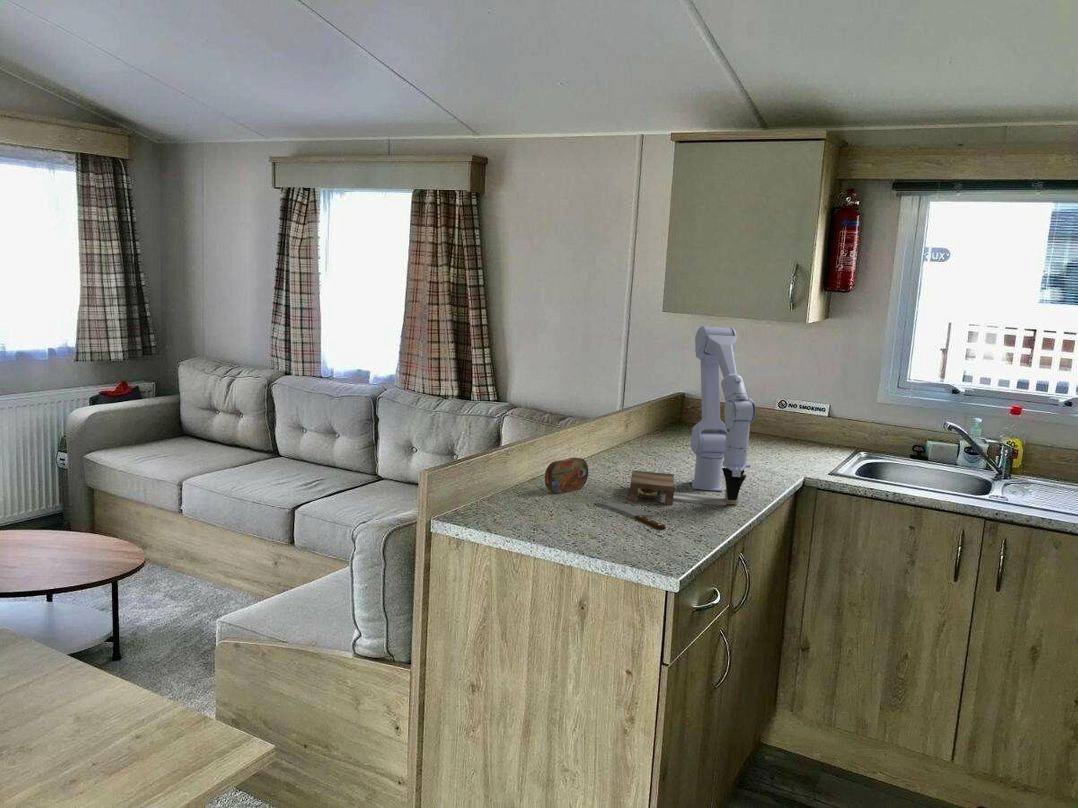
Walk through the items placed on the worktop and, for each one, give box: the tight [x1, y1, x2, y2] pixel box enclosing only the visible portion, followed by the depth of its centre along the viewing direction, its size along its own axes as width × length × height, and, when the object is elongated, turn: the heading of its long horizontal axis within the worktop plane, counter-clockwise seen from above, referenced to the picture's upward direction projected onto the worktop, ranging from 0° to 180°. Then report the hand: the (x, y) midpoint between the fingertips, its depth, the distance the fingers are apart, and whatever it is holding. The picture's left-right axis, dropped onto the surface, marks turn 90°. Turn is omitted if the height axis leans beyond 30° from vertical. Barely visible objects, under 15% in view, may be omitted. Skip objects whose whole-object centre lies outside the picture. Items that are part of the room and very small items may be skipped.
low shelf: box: [628, 470, 675, 506], centre depth 233 cm, size 14×11×5 cm
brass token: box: [638, 488, 659, 499], centre depth 234 cm, size 5×5×2 cm
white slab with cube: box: [673, 484, 739, 506], centre depth 232 cm, size 6×16×6 cm, turn 82°
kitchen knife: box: [596, 500, 666, 531], centre depth 216 cm, size 24×1×10 cm
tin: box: [544, 457, 589, 495], centre depth 234 cm, size 15×3×8 cm, turn 137°
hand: (731, 497), depth 231 cm, fingers open, 3 cm apart
